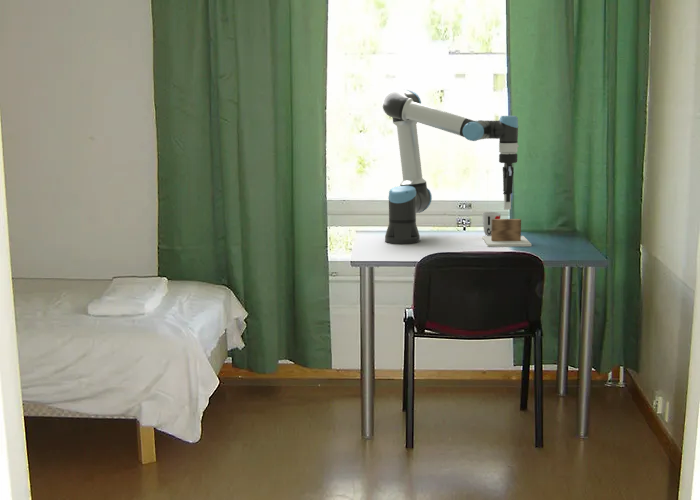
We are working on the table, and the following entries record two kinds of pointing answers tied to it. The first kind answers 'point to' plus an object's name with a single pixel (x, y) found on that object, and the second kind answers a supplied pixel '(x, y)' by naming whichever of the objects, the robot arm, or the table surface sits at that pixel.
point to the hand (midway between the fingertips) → (507, 209)
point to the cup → (489, 221)
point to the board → (506, 230)
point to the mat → (505, 242)
